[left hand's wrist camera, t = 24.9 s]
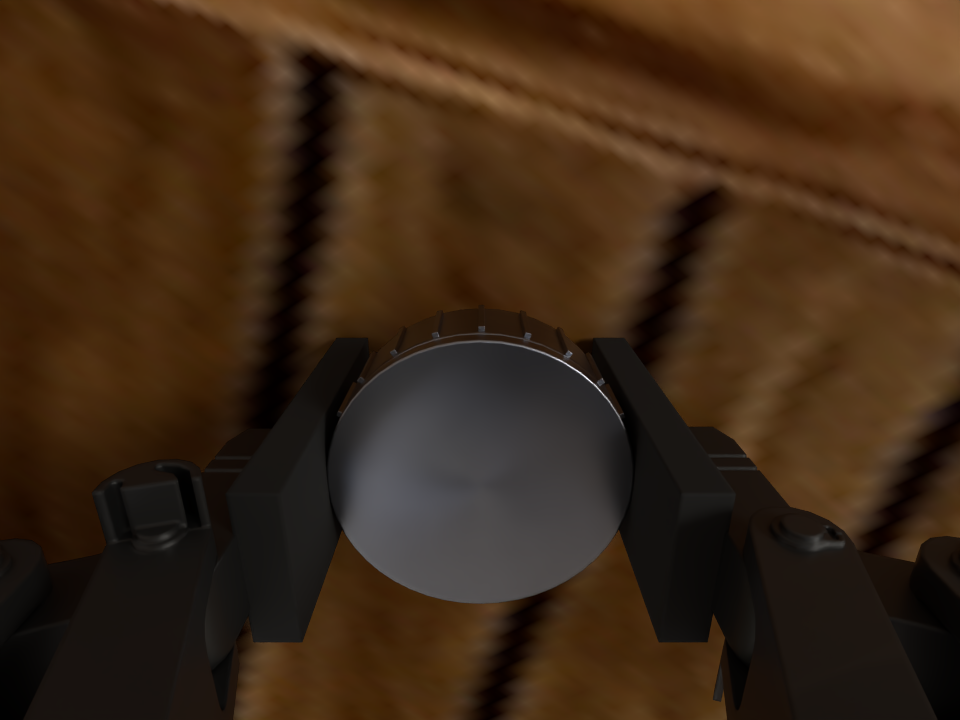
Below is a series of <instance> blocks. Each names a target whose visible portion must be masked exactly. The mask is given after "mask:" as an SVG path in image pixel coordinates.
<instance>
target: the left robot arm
mask: <svg viewBox="0 0 960 720" xmlns="http://www.w3.org/2000/svg"><path fill="white" fill-rule="evenodd" d="M592 357H593V359H594V361H595V363H596V365H597V367H598V369H599V371H600V373H601V375H602V377H603V379H604V381H605V383H604V384H605V385H606V384H609V386H610V388H611V389H612V391H613V393H614V395H615V397H616V399H617V401H618V403H619V405H620V407H621V409H622V411H623V413H624V415H625V418H623V419H622V421H623V423H624V425H625V428H626V430H627V432H628V436H629V439H630V443H631V446H632V452H633V460H634V483H633V490H632V495H631V500H630V503H629V506H628V509H627V512H626V515H625V518H624V520H623V522H622V524H621V526H620V527H619V531H620V534H621V537H622V540H623V543H624V545H625V548H626V551H627V554H628V557H629V559H630V562H631V565H632V568H633V571H634V574H635V576H636V579H637V582H638V585H639V588H640V591H641V593H642V596H643V599H644V602H645V605H646V607H647V610H648V613H649V616H650V619H651V622H652V624H653V627H654V630H655V633H656V636H657V639H658V641H659V642H708V637H709V632H710V627H711V621H712V616H713V614H714V616H715V618H716V620H717V622H718V624H719V626H720V628H721V630H722V632H723V634H724V636H725V641H724V646H723V651H722V655H721V660H720V665H719V670H718V675H717V680H716V684H715V690H714V696H713V700H716V701H720V702H721V699H722V694H723V689H724V696H725V705H726V713H727V720H960V538H957V537H950V536H943V537H934V538H930V539H928V540H927V541H925V542H924V543H923V544H921V547H920V550H919V553H918V555H917V558H916V561H915V562H910V561H905V560H900V559H895V558H890V557H885V556H880V555H875V554H870V553H866V552H862V551H858V550H856V547H855V545H854V543H853V542H852V541H851V539H850V538H849V537H848V536H847V534H846V533H845V532H844V531H843V530H842V529H840V528H839V527H838V526H836V525H835V524H833V523H832V522H830V521H829V520H827V519H825V518H823V517H820V516H818V515H816V514H814V513H811V512H808V511H804V510H800V509H796V508H792V507H790V506H789V505H788V504H787V503H786V502H785V500H784V499H783V498H782V497H781V496H780V494H779V493H778V492H777V491H776V490H775V488H774V487H773V486H772V485H771V484H770V482H769V481H768V480H767V479H766V478H765V476H764V475H763V474H762V473H761V472H760V470H757V467H756V466H755V464H754V463H753V462H752V461H751V460H750V459H749V458H747V457H746V454H745V453H744V451H743V450H742V449H741V448H740V447H739V445H738V444H737V443H736V442H735V441H734V440H733V439H732V438H730V437H728V436H727V435H725V434H724V433H722V432H720V431H719V430H717V429H715V428H714V427H688V426H687V425H686V423H685V422H684V421H683V419H682V418H681V416H680V415H679V414H678V412H677V411H676V409H675V408H674V407H673V405H672V404H671V403H670V401H669V400H668V398H667V397H666V396H665V394H664V393H663V391H662V390H661V389H660V387H659V386H658V384H657V383H656V382H655V380H654V379H653V377H652V376H651V375H650V373H649V372H648V370H647V369H646V368H645V366H644V365H643V363H642V362H641V361H640V359H639V358H638V356H637V355H636V354H635V352H634V351H633V349H632V348H631V347H630V345H629V344H628V342H627V341H626V340H625V338H593V349H592ZM368 358H369V349H368V338H336V340H335V341H334V343H333V344H332V345H331V347H330V348H329V350H328V351H327V352H326V354H325V355H324V357H323V358H322V359H321V361H320V362H319V364H318V365H317V366H316V368H315V369H314V370H313V372H312V373H311V375H310V376H309V377H308V379H307V380H306V382H305V383H304V384H303V386H302V387H301V389H300V390H299V391H298V393H297V394H296V396H295V397H294V398H293V400H292V401H291V403H290V404H289V405H288V407H287V408H286V410H285V411H284V412H283V414H282V415H281V417H280V418H279V419H278V421H277V422H276V424H275V425H274V426H273V428H272V429H247V430H246V431H244V432H243V433H241V434H239V435H238V436H236V437H234V438H233V439H231V440H229V441H228V442H227V443H226V444H225V445H224V447H223V448H222V449H221V450H220V451H219V453H218V454H217V455H216V456H215V460H212V461H211V462H210V464H209V465H208V466H207V467H206V468H205V472H202V473H201V471H200V468H199V467H198V466H196V465H195V464H194V463H192V462H189V461H184V460H179V459H168V460H156V461H151V462H147V463H142V464H138V465H135V466H132V467H130V468H127V469H125V470H122V471H119V472H117V473H116V474H114V475H112V476H111V477H109V478H107V479H106V480H104V481H102V482H101V483H100V485H99V486H98V487H97V488H96V489H95V490H94V491H93V492H92V495H93V498H94V502H95V505H96V509H97V512H98V516H99V519H100V522H101V526H102V529H103V533H104V536H105V540H106V543H107V544H106V546H105V548H104V551H103V553H101V554H97V555H93V556H88V557H83V558H79V559H74V560H69V561H64V562H59V563H54V564H49V565H47V563H46V560H45V557H44V554H43V551H42V548H41V546H39V545H38V544H36V543H35V542H34V541H32V540H25V539H8V540H1V541H0V720H233V715H234V706H235V697H236V689H237V680H238V672H239V657H238V651H237V646H236V639H237V637H238V635H239V633H240V631H241V629H242V627H243V625H244V623H245V621H246V619H247V617H248V616H249V621H250V626H251V631H252V637H253V642H303V639H304V636H305V633H306V630H307V627H308V625H309V622H310V619H311V616H312V613H313V610H314V608H315V605H316V602H317V599H318V596H319V593H320V591H321V588H322V585H323V582H324V579H325V576H326V574H327V571H328V568H329V565H330V562H331V560H332V557H333V554H334V551H335V548H336V545H337V543H338V540H339V537H340V534H341V531H342V527H341V526H340V524H339V522H338V520H337V518H336V515H335V512H334V509H333V506H332V504H331V500H330V495H329V490H328V482H327V460H328V451H329V447H330V443H331V439H332V435H333V432H334V430H335V428H336V425H337V423H338V421H339V419H340V417H338V416H336V415H337V413H338V410H339V408H340V406H341V405H342V403H343V401H344V399H345V397H346V395H347V393H348V391H349V389H350V387H351V385H352V383H353V382H355V383H357V382H358V381H357V380H358V378H359V376H360V374H361V372H362V370H363V368H364V366H365V364H366V362H367V360H368Z"/></svg>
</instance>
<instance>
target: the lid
mask: <svg viewBox="0 0 960 720" xmlns="http://www.w3.org/2000/svg"><path fill="white" fill-rule="evenodd" d="M357 381H358V382H357V383H355V382H353V383H352V385H351V387H350V389H349V391H348V393H347V395H346V397H345V399H344V401H343V403H342V405H341V406H340V408H339V410H338V413H337V415H336V416H338V417H340V419H339V421H338V423H337V425H336V428H335V430H334V432H333V435H332V439H331V443H330V447H329V451H328V460H327V482H328V490H329V495H330V500H331V504H332V506H333V509H334V512H335V515H336V518H337V520H338V522H339V524H340V526H341V527H342V529H343V531H344V533H345V535H346V536H347V537H348V539H349V540H350V542H351V543H352V544H353V546H354V547H355V548H356V549H357V551H358V552H359V553H360V554H361V555H362V556H363V557H364V558H365V559H366V560H367V561H368V562H369V563H370V564H372V565H373V566H374V567H375V568H376V569H378V570H379V571H380V572H382V573H383V574H385V575H386V576H388V577H389V578H391V579H392V580H394V581H395V582H397V583H399V584H401V585H403V586H405V587H407V588H409V589H411V590H414V591H417V592H419V593H422V594H425V595H427V596H431V597H435V598H439V599H443V600H448V601H455V602H461V603H479V604H483V603H500V602H506V601H513V600H518V599H522V598H526V597H530V596H533V595H536V594H539V593H542V592H544V591H547V590H549V589H552V588H554V587H556V586H558V585H560V584H562V583H564V582H566V581H567V580H569V579H570V578H572V577H573V576H575V575H576V574H578V573H579V572H581V571H582V570H584V569H585V568H586V567H587V566H588V565H589V564H591V563H592V562H593V561H594V560H595V559H596V558H597V557H598V556H599V555H600V554H601V553H602V552H603V551H604V549H605V548H606V547H607V546H608V545H609V543H610V542H611V540H612V539H613V537H614V536H615V535H616V533H617V531H618V529H619V527H620V526H621V524H622V522H623V520H624V518H625V515H626V512H627V509H628V506H629V503H630V500H631V495H632V490H633V483H634V460H633V452H632V446H631V443H630V439H629V436H628V432H627V430H626V428H625V425H624V423H623V421H622V419H623V418H625V415H624V413H623V411H622V409H621V407H620V405H619V403H618V401H617V399H616V397H615V395H614V393H613V391H612V389H611V388H610V386H609V384H606V385H605V384H604V383H605V381H604V379H603V377H602V375H601V373H600V371H599V369H598V367H597V365H596V363H595V361H594V359H593V357H592V355H591V354H590V353H589V352H588V353H586V354H584V353H583V351H582V350H581V349H580V348H579V347H578V346H577V345H576V344H574V343H573V342H572V341H571V340H570V339H569V338H567V337H566V336H565V334H564V332H563V329H561V328H560V327H558V328H557V329H554V328H553V327H551V326H549V325H547V324H545V323H543V322H540V321H538V320H536V319H534V318H531V317H528V316H527V315H526V312H524V311H520V313H519V314H518V313H514V312H509V311H504V310H498V309H484V305H479V309H464V310H457V311H452V312H447V313H443V311H442V310H440V311H437V314H436V316H433V317H430V318H427V319H425V320H422V321H420V322H418V323H416V324H414V325H412V326H410V327H408V328H407V329H406V328H405V326H403V327H401V328H400V329H399V332H398V334H397V335H396V336H395V337H393V338H392V339H391V340H390V341H389V342H388V343H387V344H385V345H384V346H383V347H382V348H381V349H380V350H379V351H378V352H377V353H376V352H375V351H373V352H372V353H371V354H370V356H369V358H368V360H367V362H366V364H365V366H364V368H363V370H362V372H361V374H360V376H359V378H358V380H357Z"/></svg>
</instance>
